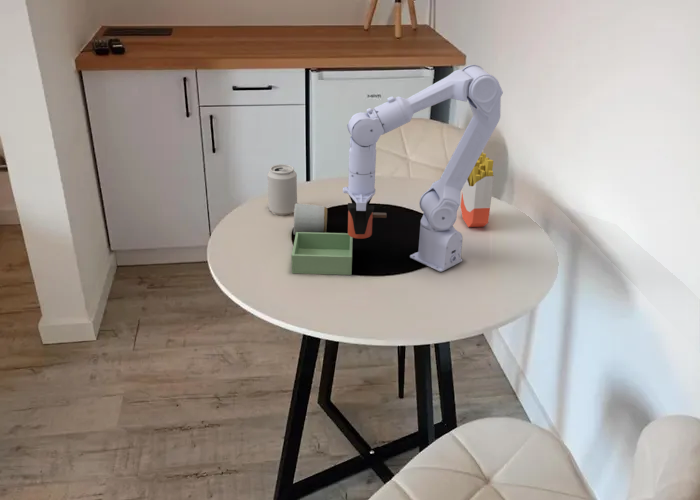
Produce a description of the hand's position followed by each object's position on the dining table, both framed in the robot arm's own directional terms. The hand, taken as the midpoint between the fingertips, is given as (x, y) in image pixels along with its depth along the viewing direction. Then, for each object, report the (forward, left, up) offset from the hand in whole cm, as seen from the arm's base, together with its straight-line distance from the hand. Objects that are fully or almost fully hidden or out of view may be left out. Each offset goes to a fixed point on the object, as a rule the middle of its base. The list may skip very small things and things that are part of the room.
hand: (360, 227), depth 151 cm
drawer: (+6, +6, -9) cm, 12 cm away
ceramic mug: (+20, -2, -9) cm, 22 cm away
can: (+34, -5, -9) cm, 35 cm away
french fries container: (-4, -37, -9) cm, 39 cm away
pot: (-1, -1, -1) cm, 2 cm away
